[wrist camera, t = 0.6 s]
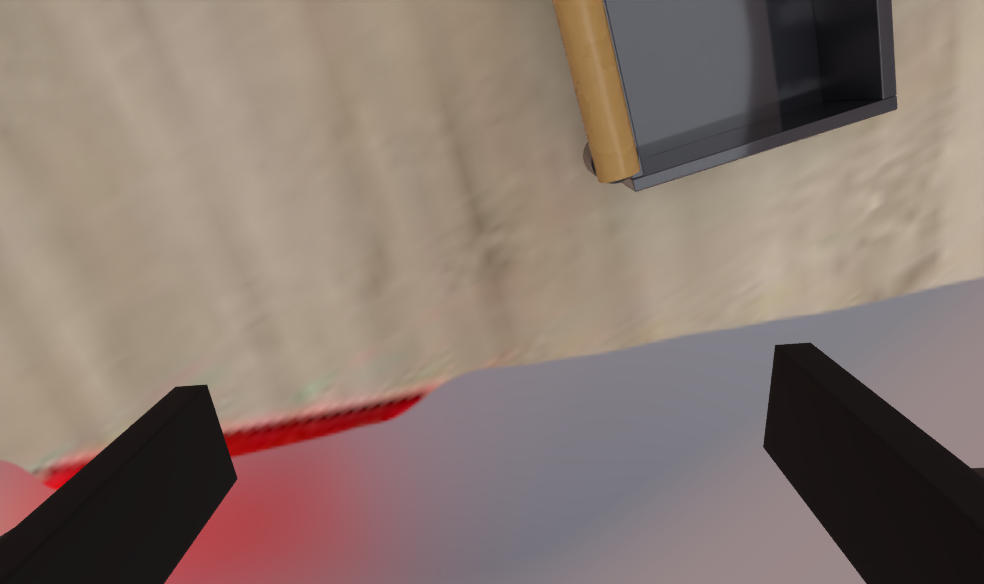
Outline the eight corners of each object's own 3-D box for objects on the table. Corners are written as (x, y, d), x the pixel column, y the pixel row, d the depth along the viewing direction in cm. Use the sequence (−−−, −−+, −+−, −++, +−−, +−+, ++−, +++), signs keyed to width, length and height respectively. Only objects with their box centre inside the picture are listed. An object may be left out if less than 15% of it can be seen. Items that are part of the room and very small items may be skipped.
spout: (483, -171, 20) (480, -229, 16) (558, -202, 19) (571, -269, 16) (578, 185, 24) (591, 198, 21) (640, 165, 24) (664, 175, 20)
